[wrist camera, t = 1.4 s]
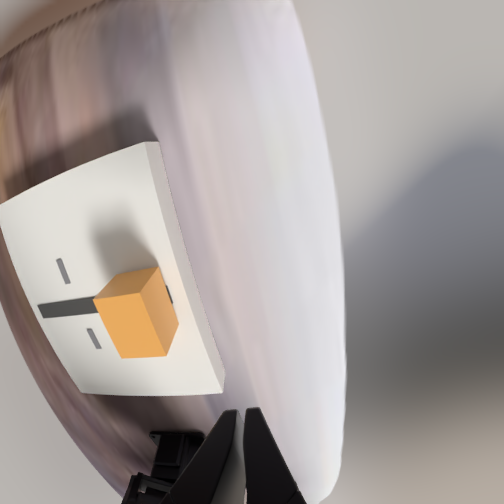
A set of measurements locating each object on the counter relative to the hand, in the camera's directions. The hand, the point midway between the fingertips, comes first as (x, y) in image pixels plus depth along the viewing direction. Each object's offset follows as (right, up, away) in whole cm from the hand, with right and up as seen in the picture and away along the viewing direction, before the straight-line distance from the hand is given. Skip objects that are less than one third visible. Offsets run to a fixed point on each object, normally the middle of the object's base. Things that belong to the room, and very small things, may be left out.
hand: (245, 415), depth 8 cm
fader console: (-11, +2, +12) cm, 16 cm away
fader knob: (-6, +2, +9) cm, 11 cm away
